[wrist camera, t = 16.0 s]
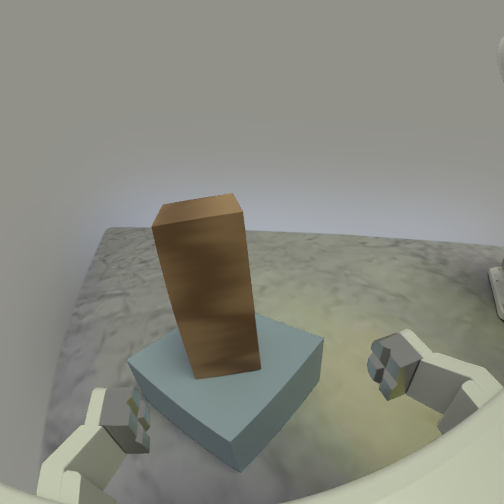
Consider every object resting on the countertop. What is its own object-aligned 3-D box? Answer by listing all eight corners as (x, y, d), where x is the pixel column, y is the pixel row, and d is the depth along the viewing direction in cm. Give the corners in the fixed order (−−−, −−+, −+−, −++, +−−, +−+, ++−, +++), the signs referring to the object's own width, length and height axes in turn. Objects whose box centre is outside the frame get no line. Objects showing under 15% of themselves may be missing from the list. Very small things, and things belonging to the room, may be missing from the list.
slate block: (227, 341, 32) (220, 298, 30) (318, 382, 25) (323, 337, 23) (147, 401, 24) (126, 360, 22) (240, 473, 17) (230, 442, 14)
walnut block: (250, 329, 25) (232, 193, 20) (261, 368, 20) (242, 211, 15) (194, 338, 24) (162, 204, 19) (195, 379, 20) (151, 226, 15)
